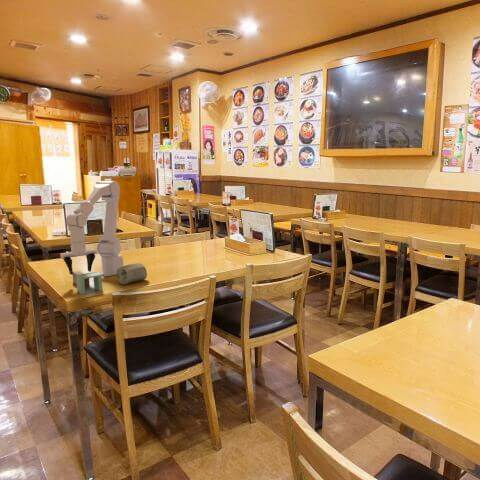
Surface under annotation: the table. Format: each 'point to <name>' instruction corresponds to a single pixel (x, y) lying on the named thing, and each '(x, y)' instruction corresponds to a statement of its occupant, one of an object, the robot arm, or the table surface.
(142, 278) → the spool
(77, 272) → the tall brown box
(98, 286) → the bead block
